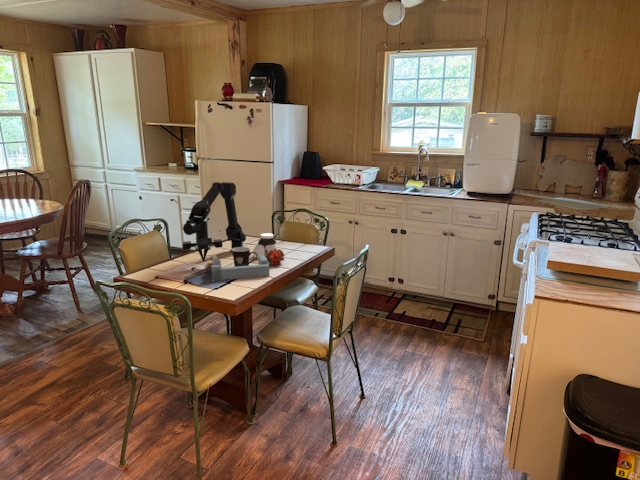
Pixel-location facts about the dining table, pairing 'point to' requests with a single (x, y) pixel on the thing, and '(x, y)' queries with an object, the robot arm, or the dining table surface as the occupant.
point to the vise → (241, 270)
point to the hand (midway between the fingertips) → (203, 261)
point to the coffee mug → (242, 256)
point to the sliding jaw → (215, 260)
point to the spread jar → (265, 245)
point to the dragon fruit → (275, 256)
